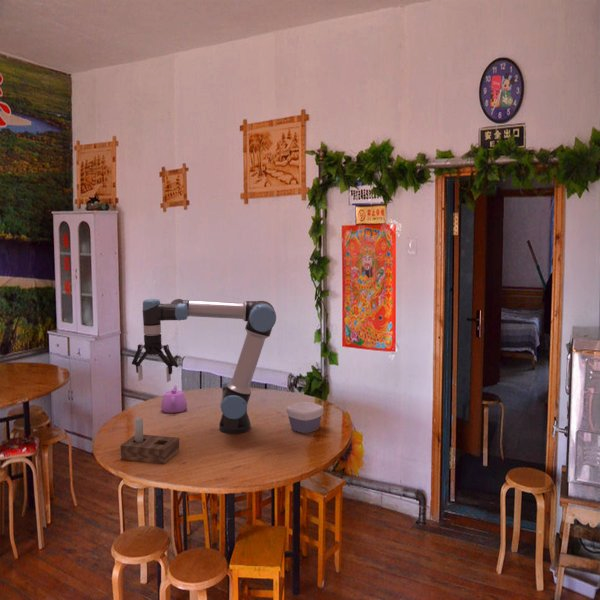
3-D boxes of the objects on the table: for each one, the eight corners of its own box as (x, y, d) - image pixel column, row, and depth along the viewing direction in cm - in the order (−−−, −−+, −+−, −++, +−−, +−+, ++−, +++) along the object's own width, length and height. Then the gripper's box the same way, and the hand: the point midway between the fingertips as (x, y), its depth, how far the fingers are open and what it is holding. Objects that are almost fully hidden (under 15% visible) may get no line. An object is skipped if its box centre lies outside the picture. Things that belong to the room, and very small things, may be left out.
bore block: (179, 451, 258) (178, 437, 257) (164, 463, 245) (164, 449, 244) (137, 447, 263) (136, 433, 262) (120, 459, 249) (120, 445, 248)
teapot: (188, 403, 326) (187, 384, 325) (186, 415, 306) (185, 394, 305) (163, 404, 324) (162, 384, 323) (159, 416, 305) (159, 395, 303)
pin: (145, 449, 256) (144, 418, 254) (141, 452, 253) (140, 420, 251) (137, 448, 257) (136, 417, 255) (134, 451, 253) (132, 420, 252)
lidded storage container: (327, 429, 287) (327, 406, 285) (305, 437, 275) (306, 414, 274) (303, 421, 297) (304, 400, 296) (282, 429, 286) (282, 407, 284)
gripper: (182, 333, 266) (184, 379, 268) (130, 331, 270) (132, 377, 273) (175, 336, 258) (177, 383, 261) (122, 334, 263) (125, 381, 266)
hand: (154, 380), depth 267 cm, fingers open, 13 cm apart
